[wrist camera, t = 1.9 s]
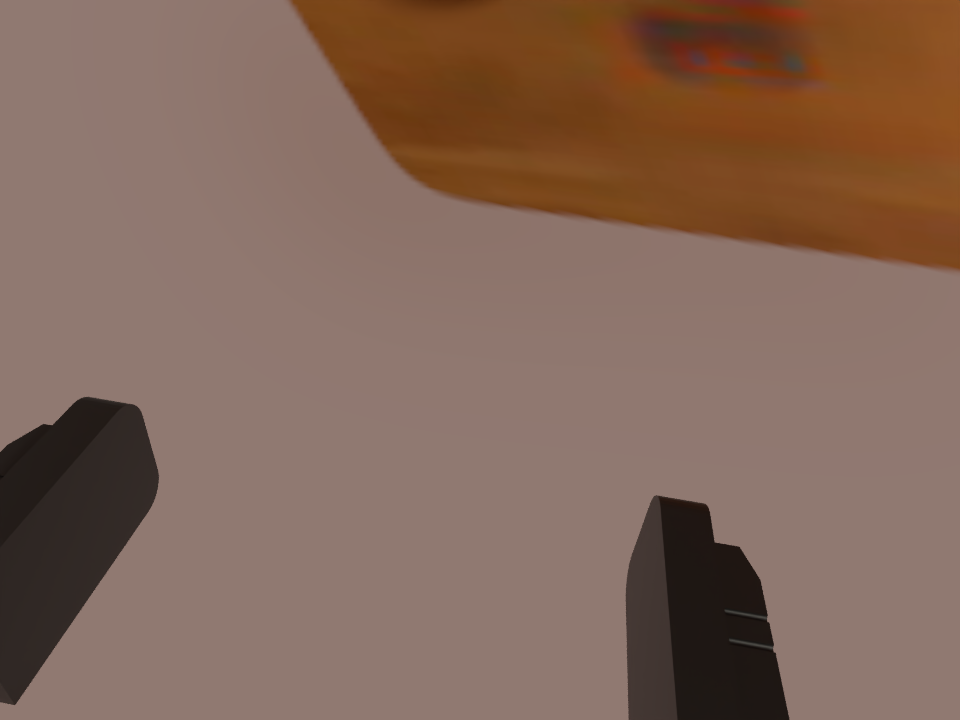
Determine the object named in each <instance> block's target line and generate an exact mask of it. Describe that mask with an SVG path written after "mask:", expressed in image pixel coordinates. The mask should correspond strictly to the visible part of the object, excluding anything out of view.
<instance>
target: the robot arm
mask: <svg viewBox="0 0 960 720" xmlns="http://www.w3.org/2000/svg"><path fill="white" fill-rule="evenodd" d="M158 480H159V475H158V469H157V466H156V462H155V458H154V455H153V451H152V448H151V444H150V440H149V437H148V433H147V430H146V426H145V423H144V419H143V416H142V413H141V411H140V409H139V408H138V407H137V406H135V405H133V404H126V403H120V402H115V401H109V400H103V399H97V398H91V397H84V398H81V399H79V400H77V401H76V402H75V403H74V404H73V405H72V406H71V407H70V408H69V409H68V410H67V411H66V412H65V413H64V414H63V415H62V416H61V417H60V418H59V419H58V420H57V421H56V422H55V423H54V424H53V425H46V424H43V425H41V426H39V427H38V428H36V429H34V430H32V431H31V432H29V433H27V434H26V435H24V436H22V437H20V438H19V439H17V440H15V441H13V442H12V443H10V444H8V445H7V446H6V447H5V448H4V449H3V450H2V451H1V452H0V702H3V703H7V704H12V705H15V704H16V703H17V701H18V700H19V699H20V697H21V696H22V694H23V693H24V691H25V690H26V688H27V687H28V686H29V684H30V683H31V681H32V679H33V678H34V677H35V675H36V674H37V672H38V671H39V670H40V668H41V667H42V665H43V664H44V662H45V661H46V659H47V658H48V656H49V655H50V654H51V652H52V650H53V649H54V648H55V646H56V645H57V643H58V642H59V641H60V639H61V638H62V636H63V634H64V633H65V632H66V630H67V629H68V627H69V626H70V625H71V623H72V622H73V620H74V619H75V617H76V616H77V614H78V613H79V611H80V610H81V608H82V607H83V606H84V604H85V603H86V601H87V600H88V598H89V597H90V596H91V594H92V593H93V591H94V590H95V588H96V587H97V585H98V584H99V582H100V581H101V580H102V578H103V577H104V575H105V574H106V572H107V571H108V569H109V568H110V567H111V565H112V564H113V562H114V561H115V559H116V558H117V556H118V555H119V553H120V552H121V551H122V549H123V548H124V546H125V545H126V543H127V542H128V540H129V539H130V537H131V536H132V535H133V533H134V532H135V530H136V529H137V527H138V526H139V524H140V523H141V521H142V520H143V519H144V517H145V516H146V514H147V513H148V511H149V510H150V508H151V506H152V504H153V502H154V499H155V496H156V493H157V489H158ZM767 616H768V615H767V610H766V605H765V600H764V595H763V590H762V586H761V581H760V579H759V577H758V576H757V574H756V572H755V571H754V569H753V568H752V566H751V564H750V563H749V561H748V560H747V558H746V557H745V555H744V553H743V552H742V550H741V549H740V547H737V546H732V545H726V544H720V543H715V542H714V536H713V529H712V523H711V516H710V511H709V508H708V506H707V505H706V504H703V503H697V502H692V501H686V500H680V499H674V498H668V497H662V496H657V495H656V496H654V497H653V499H652V501H651V503H650V506H649V508H648V511H647V514H646V517H645V520H644V523H643V525H642V528H641V531H640V534H639V537H638V539H637V542H636V545H635V548H634V551H633V553H632V557H631V560H630V564H629V569H628V575H627V584H626V621H627V622H626V625H627V665H628V666H627V667H628V704H629V705H628V706H629V707H628V708H629V720H789V715H788V711H787V706H786V701H785V697H784V692H783V687H782V682H781V677H780V672H779V667H778V662H777V658H776V653H774V652H773V646H774V643H773V639H772V634H771V629H770V624H769V622H767Z"/></svg>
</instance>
